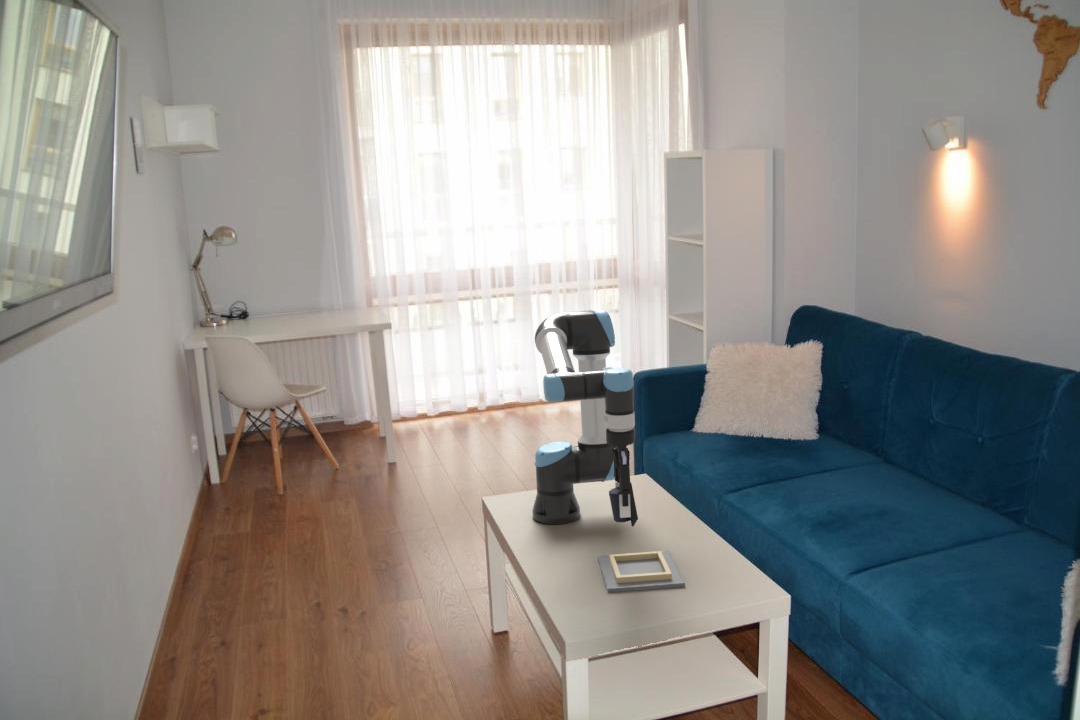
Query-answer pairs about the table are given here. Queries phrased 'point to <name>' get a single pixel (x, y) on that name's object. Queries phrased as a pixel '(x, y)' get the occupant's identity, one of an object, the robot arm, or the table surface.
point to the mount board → (640, 571)
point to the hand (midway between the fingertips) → (623, 511)
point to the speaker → (616, 506)
